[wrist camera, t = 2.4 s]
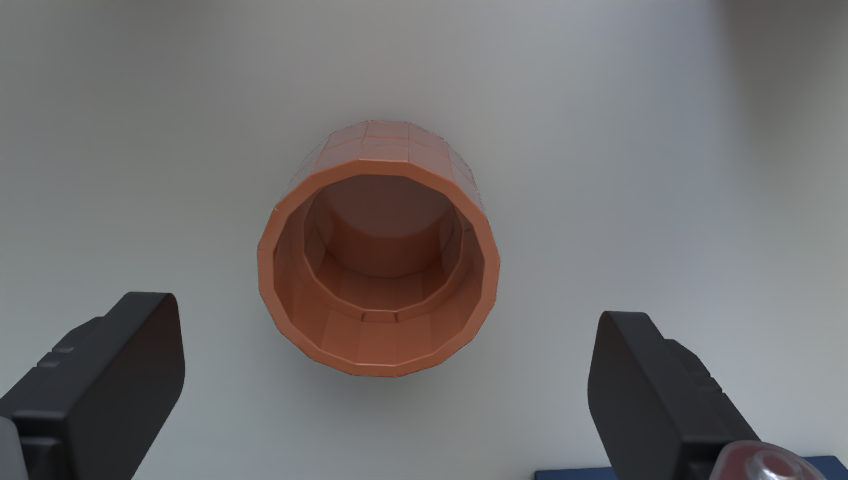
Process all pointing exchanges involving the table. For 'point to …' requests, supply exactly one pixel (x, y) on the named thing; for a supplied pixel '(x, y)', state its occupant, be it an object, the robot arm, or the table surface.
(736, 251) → the table surface
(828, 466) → the towel
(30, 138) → the table surface
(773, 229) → the table surface
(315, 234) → the flower pot
